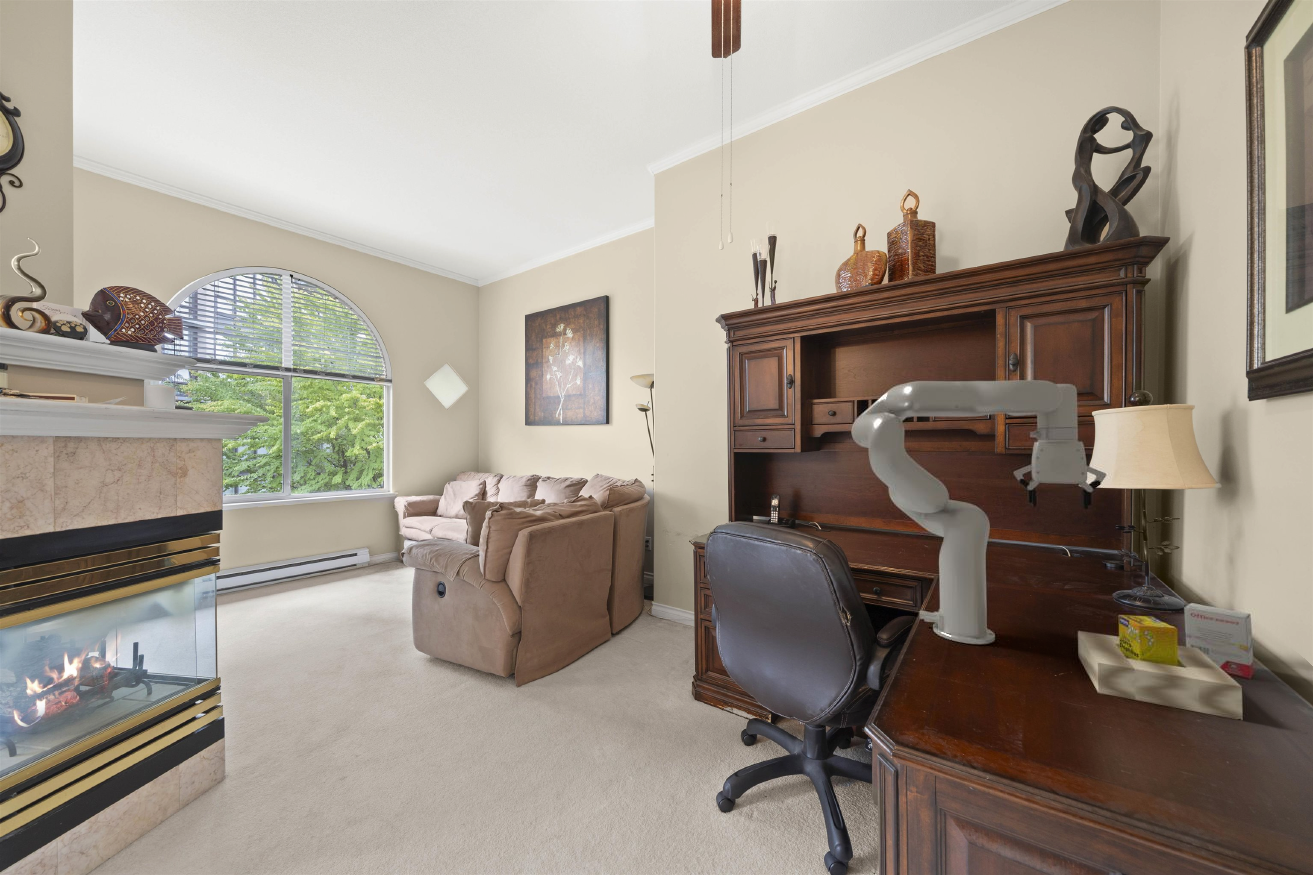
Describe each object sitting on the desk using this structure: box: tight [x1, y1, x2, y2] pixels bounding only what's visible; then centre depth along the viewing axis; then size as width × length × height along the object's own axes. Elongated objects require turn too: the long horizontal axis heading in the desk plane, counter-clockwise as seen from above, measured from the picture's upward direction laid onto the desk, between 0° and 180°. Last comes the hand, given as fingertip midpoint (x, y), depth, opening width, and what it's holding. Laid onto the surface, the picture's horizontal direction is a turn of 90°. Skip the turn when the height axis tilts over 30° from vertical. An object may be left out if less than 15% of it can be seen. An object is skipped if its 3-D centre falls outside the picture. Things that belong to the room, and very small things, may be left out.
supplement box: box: [1118, 614, 1178, 666], centre depth 94 cm, size 6×6×11 cm
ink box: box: [1183, 602, 1254, 679], centre depth 101 cm, size 9×5×12 cm, turn 33°
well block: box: [1077, 630, 1243, 721], centre depth 94 cm, size 18×18×6 cm
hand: (1058, 507), depth 119 cm, fingers open, 9 cm apart
